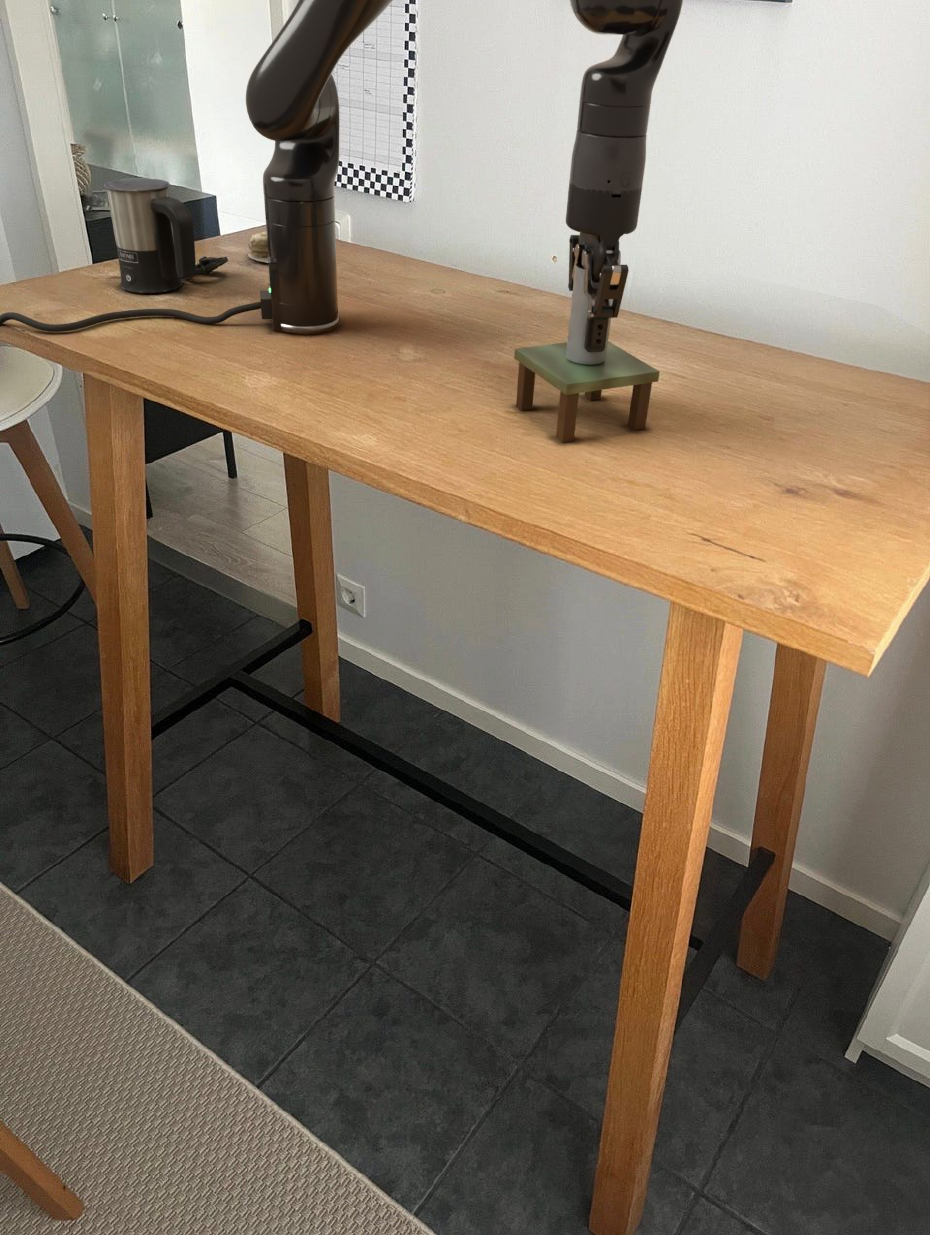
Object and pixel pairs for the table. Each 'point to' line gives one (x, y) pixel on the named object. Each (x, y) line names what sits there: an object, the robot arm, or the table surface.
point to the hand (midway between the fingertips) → (587, 342)
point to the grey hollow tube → (581, 324)
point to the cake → (258, 247)
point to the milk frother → (153, 236)
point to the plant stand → (583, 382)
